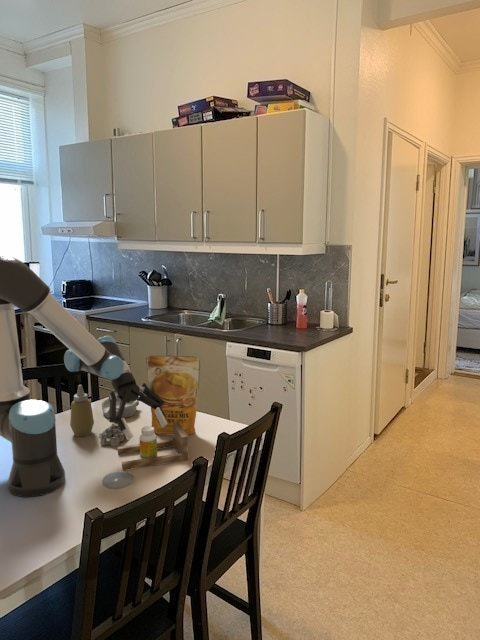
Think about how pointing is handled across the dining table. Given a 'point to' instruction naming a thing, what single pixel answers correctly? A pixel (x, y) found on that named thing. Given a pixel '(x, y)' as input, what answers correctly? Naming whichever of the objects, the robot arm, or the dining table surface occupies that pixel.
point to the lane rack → (178, 442)
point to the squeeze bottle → (81, 414)
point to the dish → (128, 410)
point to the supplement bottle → (148, 443)
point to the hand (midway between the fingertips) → (148, 431)
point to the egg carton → (108, 433)
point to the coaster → (117, 479)
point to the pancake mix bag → (174, 390)
